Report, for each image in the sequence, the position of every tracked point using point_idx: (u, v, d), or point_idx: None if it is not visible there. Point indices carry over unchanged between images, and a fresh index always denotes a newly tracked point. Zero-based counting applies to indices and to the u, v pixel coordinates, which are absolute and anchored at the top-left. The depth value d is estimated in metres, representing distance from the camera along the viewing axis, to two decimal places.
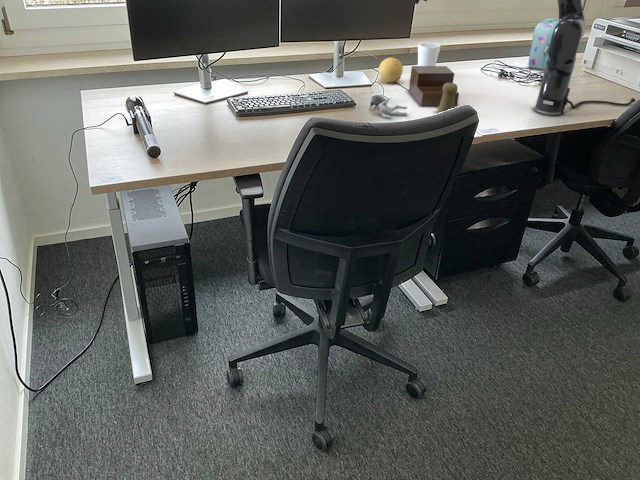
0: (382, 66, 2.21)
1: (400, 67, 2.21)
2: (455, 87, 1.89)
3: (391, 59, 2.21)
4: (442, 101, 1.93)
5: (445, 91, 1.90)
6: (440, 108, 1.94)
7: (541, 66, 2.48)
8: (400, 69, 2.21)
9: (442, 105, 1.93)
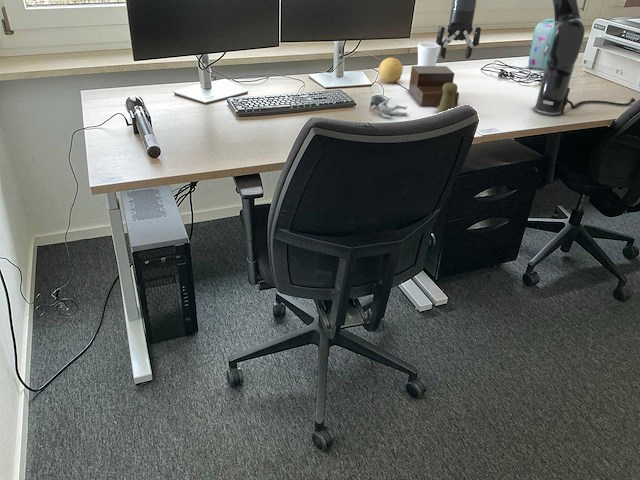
0: (382, 66, 2.21)
1: (400, 67, 2.21)
2: (455, 87, 1.89)
3: (391, 59, 2.21)
4: (442, 101, 1.93)
5: (445, 91, 1.90)
6: (440, 108, 1.94)
7: (541, 66, 2.48)
8: (400, 69, 2.21)
9: (442, 105, 1.93)
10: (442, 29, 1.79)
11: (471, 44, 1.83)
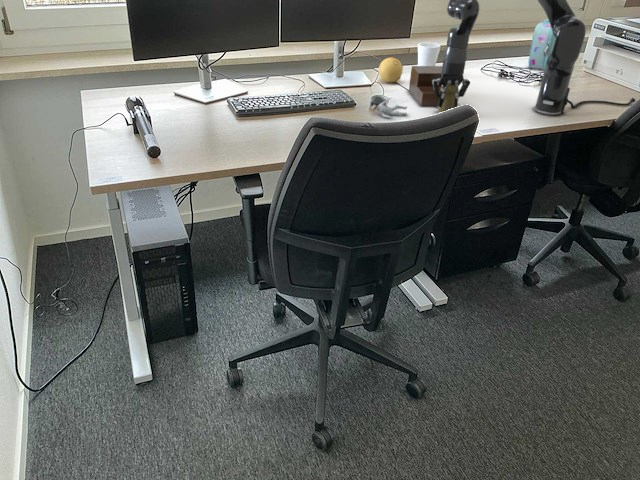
0: (382, 66, 2.21)
1: (400, 67, 2.21)
2: (455, 87, 1.89)
3: (391, 59, 2.21)
4: None
5: None
6: (440, 108, 1.94)
7: (541, 66, 2.48)
8: (400, 69, 2.21)
9: (442, 105, 1.93)
10: (435, 83, 1.89)
11: (456, 95, 1.92)
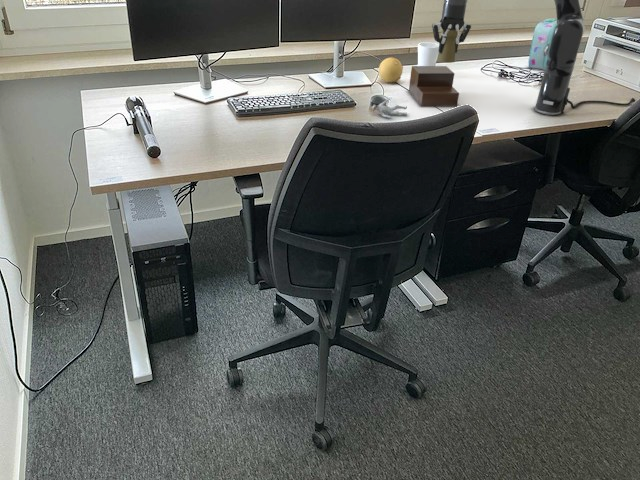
0: (382, 66, 2.21)
1: (400, 67, 2.21)
2: (456, 31, 1.87)
3: (391, 59, 2.21)
4: None
5: None
6: (441, 54, 1.92)
7: (541, 66, 2.48)
8: (400, 69, 2.21)
9: (443, 51, 1.91)
10: (435, 27, 1.86)
11: (457, 40, 1.89)
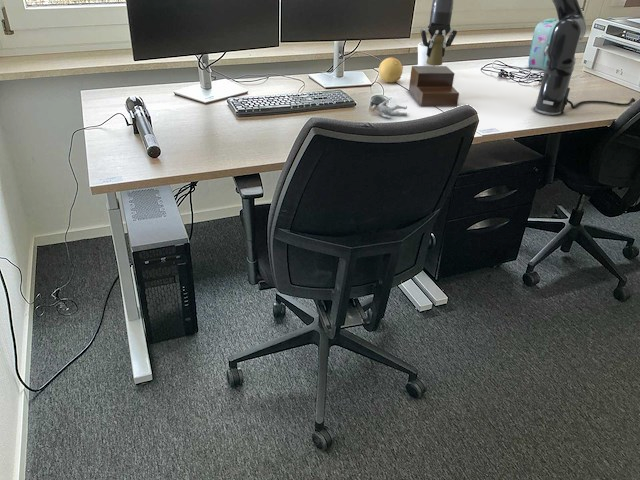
0: (382, 66, 2.21)
1: (400, 67, 2.21)
2: (442, 36, 2.00)
3: (391, 59, 2.21)
4: None
5: None
6: None
7: (541, 66, 2.48)
8: (400, 69, 2.21)
9: None
10: (423, 32, 1.99)
11: (444, 45, 2.03)
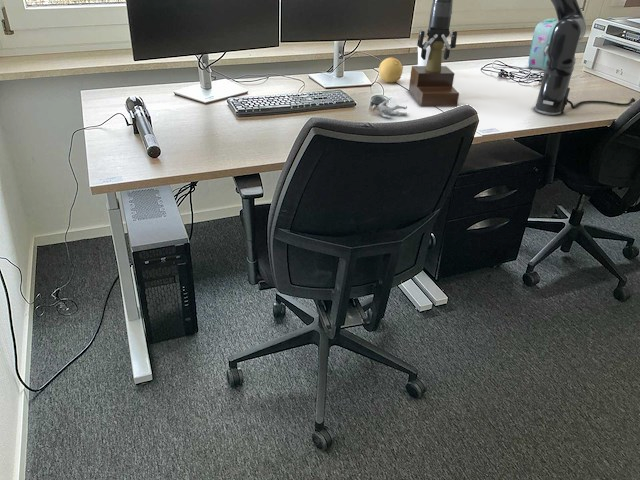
0: (382, 66, 2.21)
1: (400, 67, 2.21)
2: (441, 43, 2.01)
3: (391, 59, 2.21)
4: (429, 57, 2.05)
5: (432, 47, 2.02)
6: (428, 64, 2.06)
7: (541, 66, 2.48)
8: (400, 69, 2.21)
9: (429, 61, 2.05)
10: (422, 33, 1.99)
11: (449, 46, 2.03)
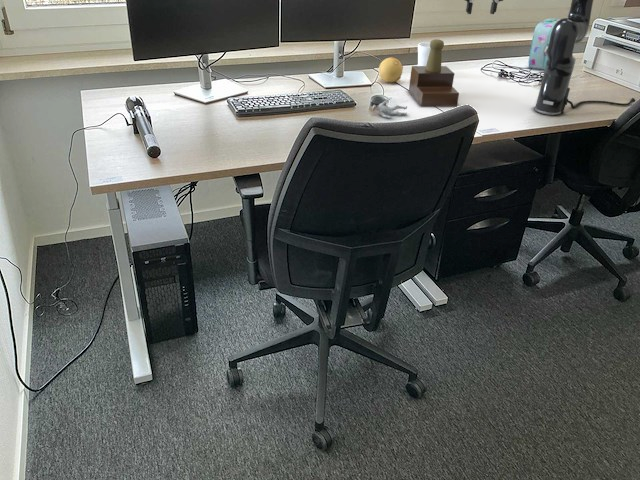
0: (382, 66, 2.21)
1: (400, 67, 2.21)
2: (441, 43, 2.01)
3: (391, 59, 2.21)
4: (429, 57, 2.05)
5: (432, 47, 2.02)
6: (428, 64, 2.06)
7: (541, 66, 2.48)
8: (400, 69, 2.21)
9: (429, 61, 2.05)
10: None
11: None
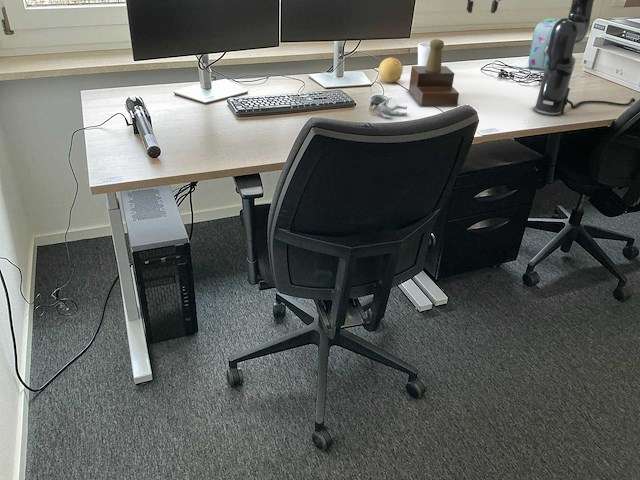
0: (382, 66, 2.21)
1: (400, 67, 2.21)
2: (441, 43, 2.01)
3: (391, 59, 2.21)
4: (429, 57, 2.05)
5: (432, 47, 2.02)
6: (428, 64, 2.06)
7: (541, 66, 2.48)
8: (400, 69, 2.21)
9: (429, 61, 2.05)
10: None
11: None
